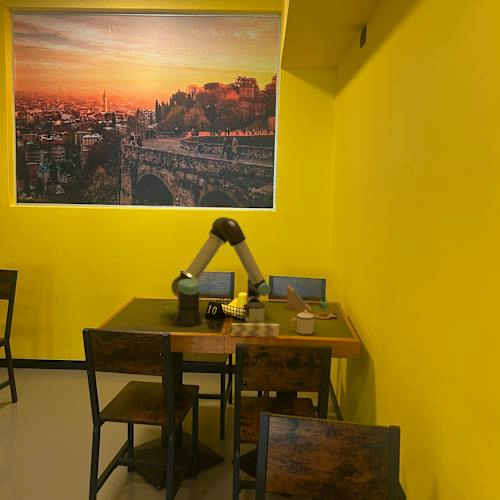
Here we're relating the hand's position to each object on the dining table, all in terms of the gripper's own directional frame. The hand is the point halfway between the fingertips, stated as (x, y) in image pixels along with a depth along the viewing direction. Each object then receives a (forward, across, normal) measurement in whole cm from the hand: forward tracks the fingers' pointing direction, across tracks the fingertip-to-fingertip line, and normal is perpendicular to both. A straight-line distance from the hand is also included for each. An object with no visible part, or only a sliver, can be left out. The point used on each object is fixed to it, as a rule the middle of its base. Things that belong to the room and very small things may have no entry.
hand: (255, 314), depth 252 cm
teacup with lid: (+7, -24, -7) cm, 26 cm away
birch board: (+14, +1, -7) cm, 16 cm away
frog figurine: (-21, -42, -7) cm, 47 cm away
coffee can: (+5, +1, -7) cm, 9 cm away
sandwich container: (-40, -29, -7) cm, 50 cm away
